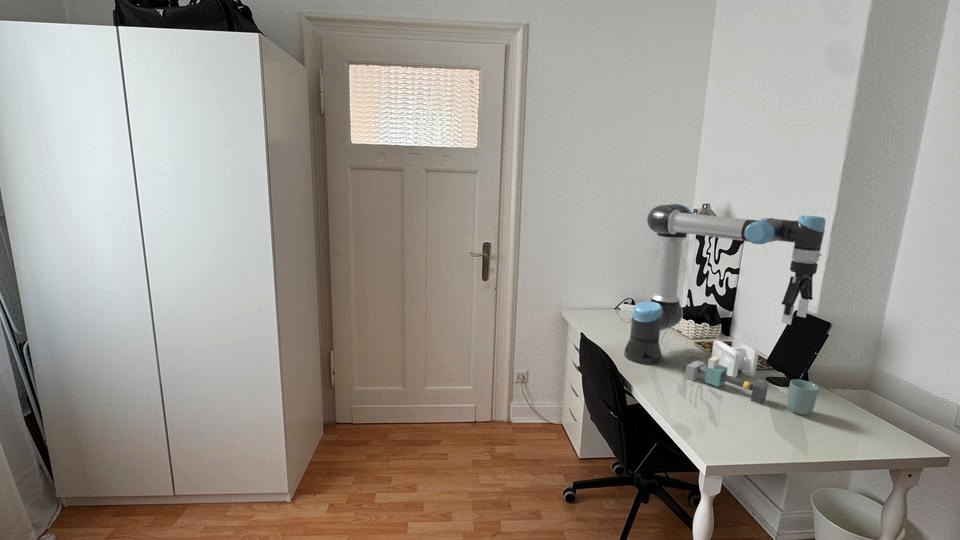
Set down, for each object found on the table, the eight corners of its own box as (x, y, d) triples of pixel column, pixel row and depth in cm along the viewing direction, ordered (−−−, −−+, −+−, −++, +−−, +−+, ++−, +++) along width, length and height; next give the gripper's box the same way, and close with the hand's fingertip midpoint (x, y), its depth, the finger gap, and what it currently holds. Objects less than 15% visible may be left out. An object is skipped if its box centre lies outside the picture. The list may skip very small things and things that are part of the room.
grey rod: (694, 371, 176) (695, 365, 176) (697, 370, 178) (698, 363, 177) (753, 392, 160) (754, 386, 160) (756, 390, 162) (757, 383, 161)
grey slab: (685, 378, 177) (686, 365, 175) (695, 372, 182) (696, 360, 180) (692, 381, 174) (694, 368, 173) (702, 375, 179) (704, 362, 178)
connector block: (750, 400, 160) (753, 385, 159) (756, 396, 163) (758, 381, 162) (759, 404, 158) (762, 388, 157) (765, 400, 161) (768, 384, 160)
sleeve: (704, 381, 172) (707, 359, 170) (712, 377, 175) (715, 355, 173) (718, 386, 168) (721, 364, 166) (725, 382, 172) (728, 360, 170)
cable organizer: (756, 380, 176) (761, 352, 174) (730, 380, 175) (734, 352, 173) (732, 364, 191) (736, 338, 188) (708, 364, 190) (712, 338, 188)
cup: (813, 420, 148) (819, 392, 146) (785, 413, 152) (790, 385, 150) (812, 410, 155) (817, 383, 152) (784, 403, 159) (789, 377, 156)
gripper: (803, 267, 146) (792, 329, 151) (830, 259, 161) (818, 316, 166) (777, 263, 152) (767, 323, 157) (805, 255, 167) (795, 311, 172)
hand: (793, 320), depth 161 cm, fingers open, 13 cm apart
